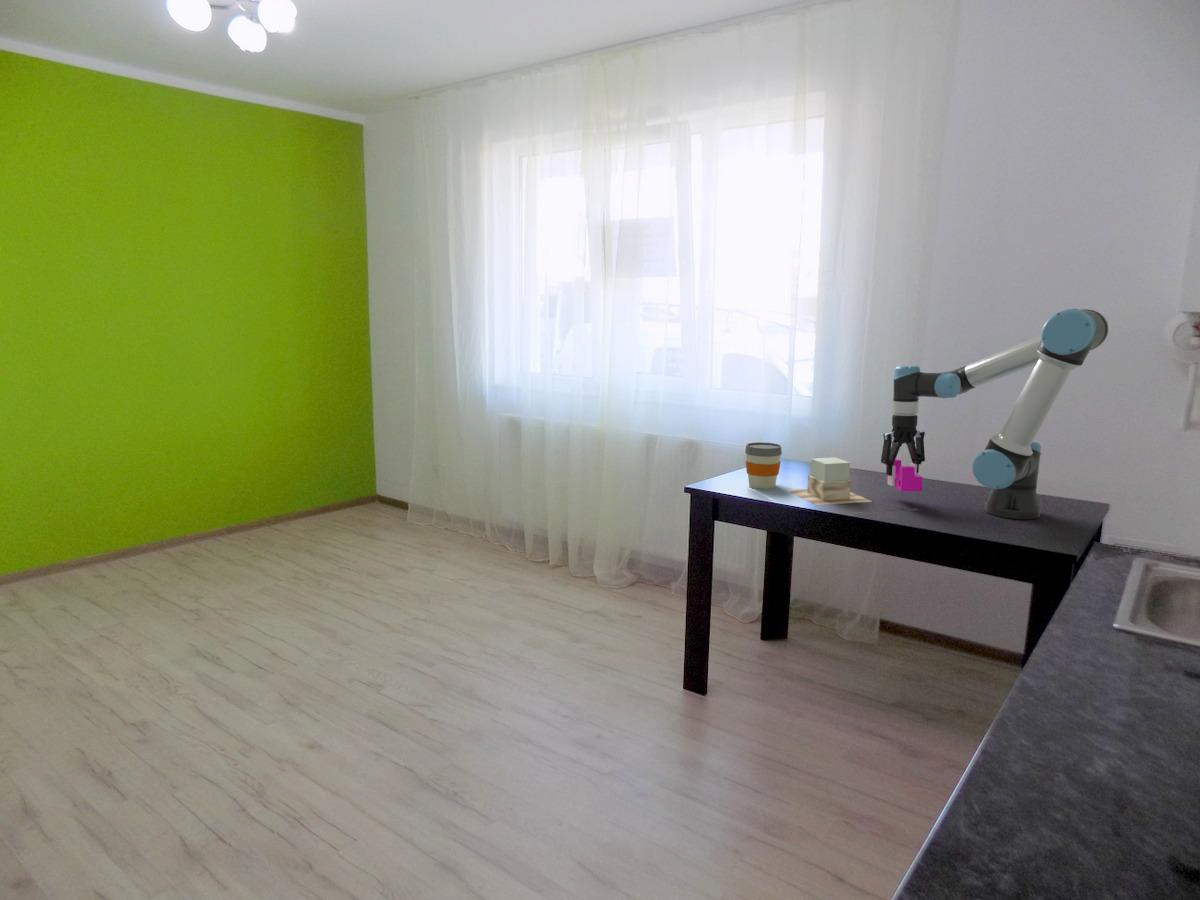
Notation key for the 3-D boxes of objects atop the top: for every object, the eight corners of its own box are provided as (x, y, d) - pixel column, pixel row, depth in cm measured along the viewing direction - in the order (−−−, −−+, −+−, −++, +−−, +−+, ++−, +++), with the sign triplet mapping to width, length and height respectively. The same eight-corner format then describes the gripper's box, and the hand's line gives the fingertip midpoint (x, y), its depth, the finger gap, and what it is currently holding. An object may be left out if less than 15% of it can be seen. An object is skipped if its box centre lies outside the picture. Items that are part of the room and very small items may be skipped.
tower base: (849, 498, 248) (851, 480, 247) (822, 500, 246) (823, 482, 245) (833, 491, 258) (834, 474, 257) (807, 493, 255) (808, 475, 254)
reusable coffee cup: (762, 481, 275) (763, 441, 272) (787, 488, 265) (789, 446, 262) (736, 485, 268) (737, 444, 266) (761, 493, 258) (763, 450, 255)
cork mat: (872, 503, 245) (872, 501, 244) (816, 506, 240) (816, 505, 240) (839, 488, 264) (839, 487, 264) (786, 492, 259) (786, 490, 259)
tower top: (848, 480, 247) (849, 462, 246) (824, 481, 245) (825, 464, 244) (834, 474, 256) (835, 457, 255) (810, 476, 254) (811, 458, 253)
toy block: (921, 491, 235) (923, 467, 234) (901, 491, 236) (902, 467, 234) (905, 481, 250) (906, 459, 249) (886, 481, 250) (887, 459, 249)
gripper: (924, 411, 246) (921, 480, 250) (870, 414, 242) (867, 484, 245) (940, 413, 239) (936, 484, 243) (884, 417, 234) (881, 488, 238)
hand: (901, 484), depth 244 cm, fingers closed on toy block, 7 cm apart
